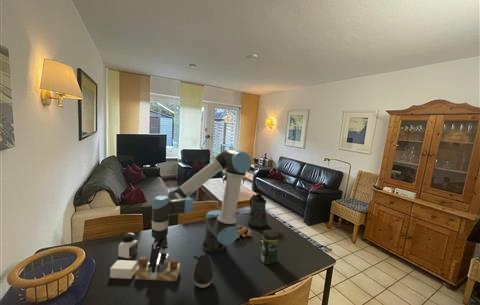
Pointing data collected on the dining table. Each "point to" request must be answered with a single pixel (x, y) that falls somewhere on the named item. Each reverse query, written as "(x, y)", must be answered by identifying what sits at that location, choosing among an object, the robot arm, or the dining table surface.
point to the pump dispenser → (203, 271)
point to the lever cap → (161, 262)
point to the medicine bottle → (128, 246)
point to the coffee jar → (269, 246)
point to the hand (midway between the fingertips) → (158, 268)
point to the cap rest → (123, 269)
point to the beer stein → (257, 212)
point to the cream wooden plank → (168, 274)
